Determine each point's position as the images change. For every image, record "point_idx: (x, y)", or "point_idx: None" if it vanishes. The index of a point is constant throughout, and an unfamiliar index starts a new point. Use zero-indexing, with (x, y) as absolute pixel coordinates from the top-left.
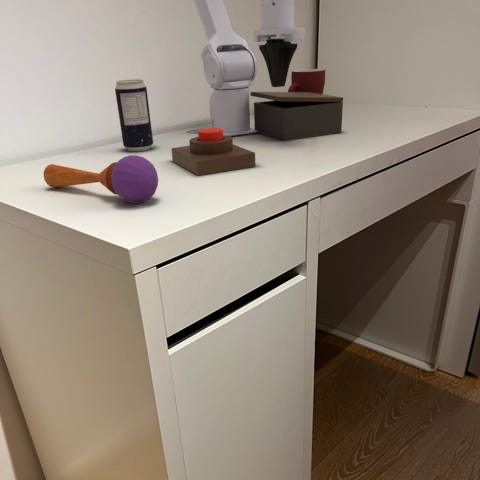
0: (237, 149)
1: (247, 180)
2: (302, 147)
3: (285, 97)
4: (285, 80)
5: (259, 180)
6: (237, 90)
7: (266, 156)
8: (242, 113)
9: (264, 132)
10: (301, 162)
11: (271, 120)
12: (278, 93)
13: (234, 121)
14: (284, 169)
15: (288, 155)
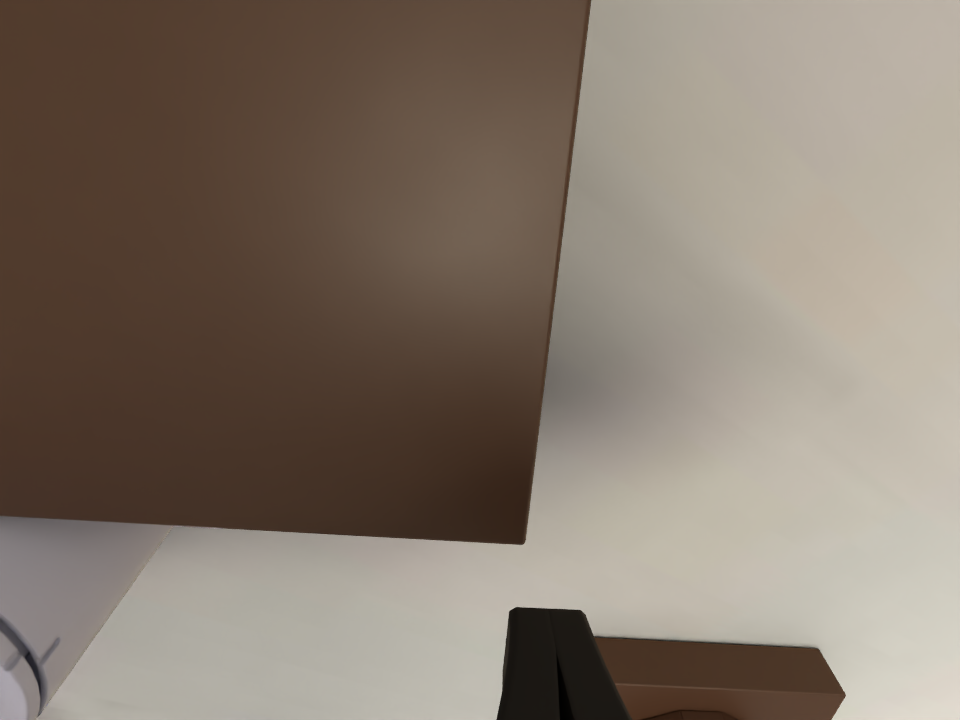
0: (748, 708)
1: (915, 714)
2: (723, 374)
3: (528, 501)
4: (602, 658)
5: (947, 698)
6: (49, 663)
7: (727, 563)
8: None
9: None
10: (924, 527)
11: None
12: (87, 331)
13: None
14: (933, 608)
15: (791, 502)
